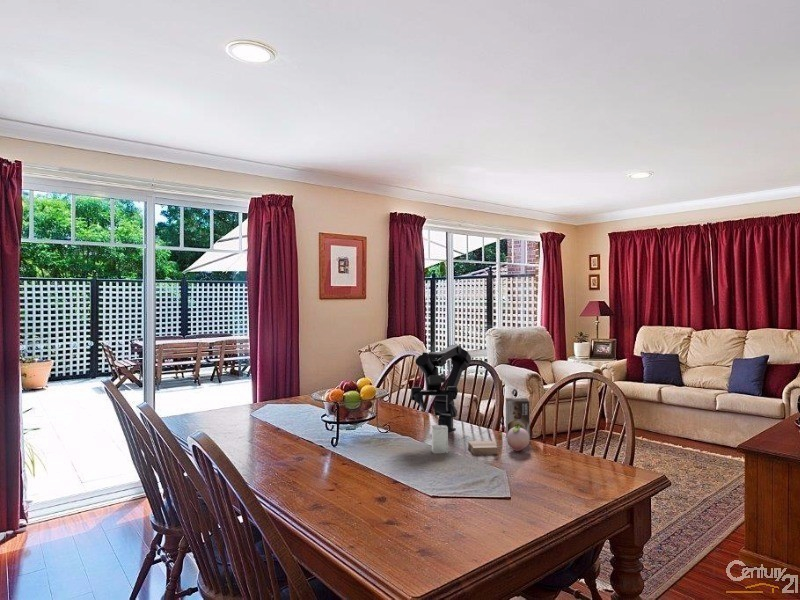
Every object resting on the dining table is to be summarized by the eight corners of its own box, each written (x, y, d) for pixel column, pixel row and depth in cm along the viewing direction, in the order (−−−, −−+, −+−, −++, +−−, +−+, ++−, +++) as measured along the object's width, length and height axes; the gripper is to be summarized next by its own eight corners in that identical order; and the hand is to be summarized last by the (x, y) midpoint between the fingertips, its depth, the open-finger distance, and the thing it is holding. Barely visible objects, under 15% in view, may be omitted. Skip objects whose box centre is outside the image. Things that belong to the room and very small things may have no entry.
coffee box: (527, 436, 214) (527, 397, 214) (530, 440, 207) (529, 400, 207) (505, 435, 215) (505, 397, 215) (507, 440, 208) (507, 400, 208)
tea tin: (431, 450, 194) (431, 425, 194) (446, 449, 194) (446, 425, 194) (433, 453, 190) (433, 428, 190) (448, 453, 190) (448, 427, 190)
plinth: (468, 447, 197) (468, 441, 197) (491, 447, 198) (491, 440, 198) (473, 454, 188) (473, 447, 188) (497, 454, 189) (497, 447, 189)
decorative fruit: (530, 455, 187) (530, 428, 187) (507, 454, 189) (507, 427, 189) (528, 448, 196) (528, 422, 196) (507, 447, 198) (507, 421, 198)
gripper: (411, 367, 205) (414, 400, 194) (456, 366, 207) (462, 399, 196) (409, 383, 213) (412, 416, 202) (453, 382, 215) (458, 415, 204)
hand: (436, 411), depth 201 cm, fingers open, 9 cm apart
